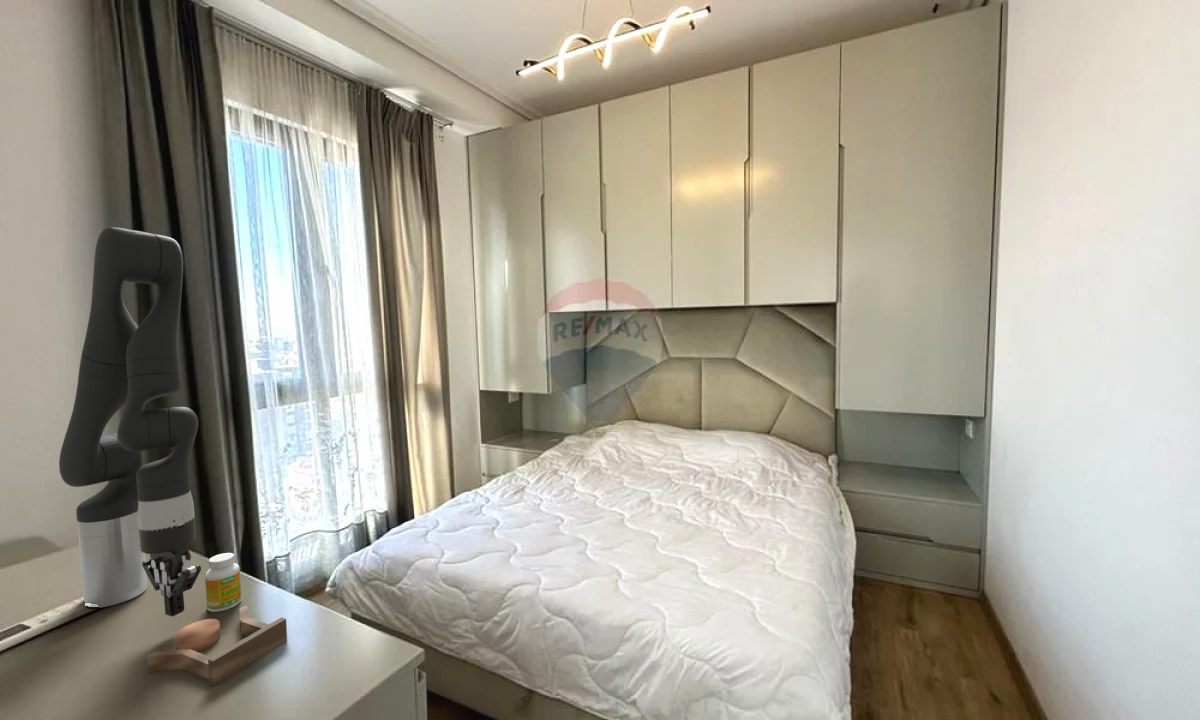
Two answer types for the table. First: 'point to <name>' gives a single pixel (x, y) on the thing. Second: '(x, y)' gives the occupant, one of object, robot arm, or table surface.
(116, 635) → the table surface
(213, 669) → the dock
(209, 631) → the salmon orange rounded piece
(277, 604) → the table surface
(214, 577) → the supplement bottle
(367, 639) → the table surface
